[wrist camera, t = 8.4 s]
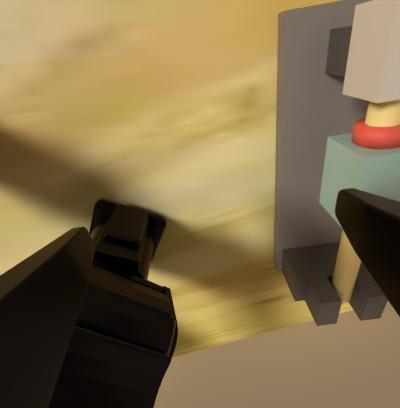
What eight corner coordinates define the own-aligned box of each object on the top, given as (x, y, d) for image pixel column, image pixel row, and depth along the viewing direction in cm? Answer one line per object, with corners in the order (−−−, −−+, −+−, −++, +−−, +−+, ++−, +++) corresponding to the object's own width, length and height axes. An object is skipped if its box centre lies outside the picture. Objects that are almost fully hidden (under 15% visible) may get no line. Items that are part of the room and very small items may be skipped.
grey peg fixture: (347, 252, 26) (397, 316, 20) (273, 262, 27) (300, 327, 20) (409, -10, 15) (573, -58, 9) (278, 13, 15) (342, -16, 9)
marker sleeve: (370, 194, 18) (410, 225, 15) (319, 202, 18) (347, 234, 15) (388, 127, 15) (441, 146, 12) (327, 136, 16) (363, 158, 12)
